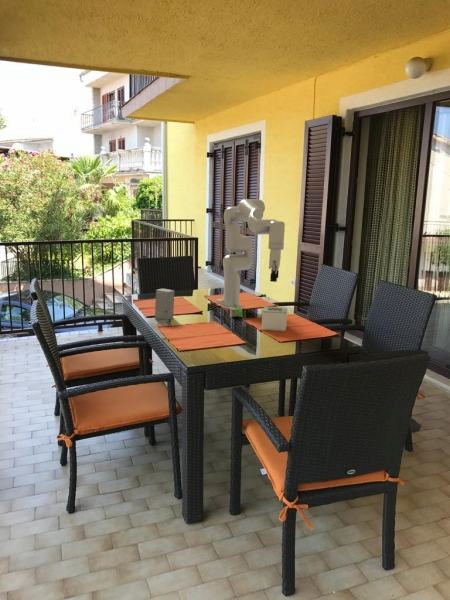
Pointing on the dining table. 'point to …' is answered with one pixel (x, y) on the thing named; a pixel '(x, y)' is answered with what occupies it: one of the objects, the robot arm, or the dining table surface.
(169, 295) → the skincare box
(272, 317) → the box
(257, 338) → the dining table surface
